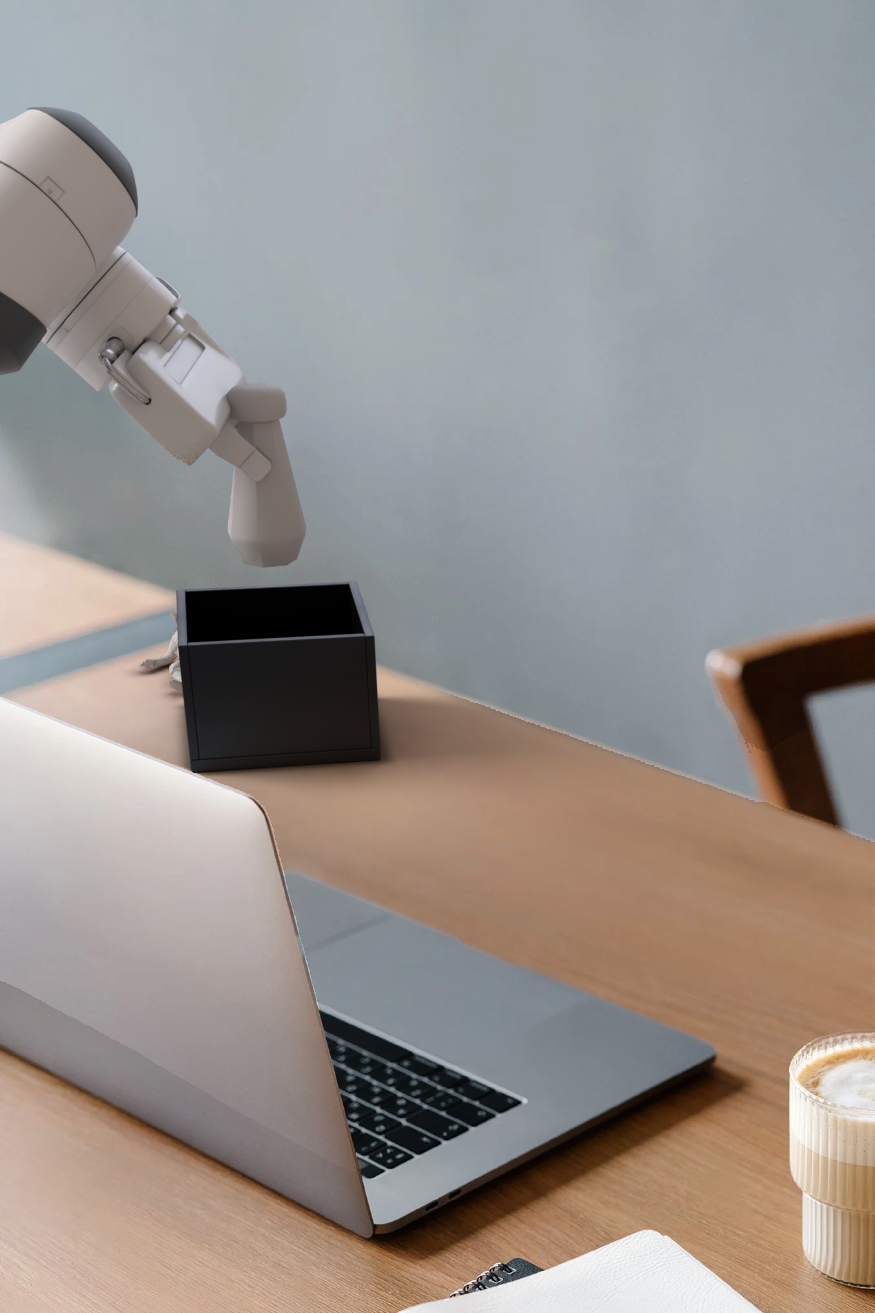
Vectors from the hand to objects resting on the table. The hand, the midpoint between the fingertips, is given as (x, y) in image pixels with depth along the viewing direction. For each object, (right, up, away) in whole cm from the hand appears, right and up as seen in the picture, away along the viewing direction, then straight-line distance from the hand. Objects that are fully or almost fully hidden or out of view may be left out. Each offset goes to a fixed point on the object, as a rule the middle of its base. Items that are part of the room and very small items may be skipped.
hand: (269, 466), depth 135 cm
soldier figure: (-12, -12, +22) cm, 28 cm away
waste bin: (-1, -19, +10) cm, 21 cm away
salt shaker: (-1, -6, +4) cm, 7 cm away
